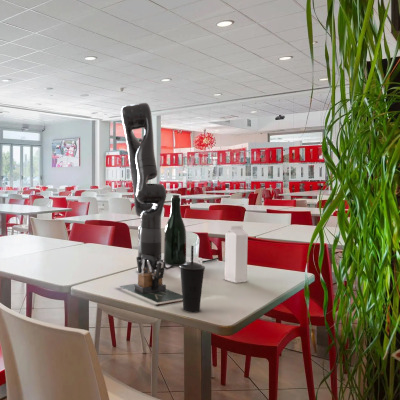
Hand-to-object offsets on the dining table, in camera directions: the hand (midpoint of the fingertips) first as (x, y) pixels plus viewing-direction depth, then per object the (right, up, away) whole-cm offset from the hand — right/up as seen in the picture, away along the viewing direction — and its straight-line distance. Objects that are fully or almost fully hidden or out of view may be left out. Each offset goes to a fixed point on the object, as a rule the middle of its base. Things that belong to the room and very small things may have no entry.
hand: (150, 287), depth 149 cm
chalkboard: (0, -2, -1) cm, 2 cm away
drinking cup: (+10, -3, -19) cm, 21 cm away
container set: (+23, -1, +31) cm, 39 cm away
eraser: (0, -1, 0) cm, 1 cm away
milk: (+37, -1, +19) cm, 42 cm away
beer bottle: (+21, 0, +53) cm, 57 cm away
